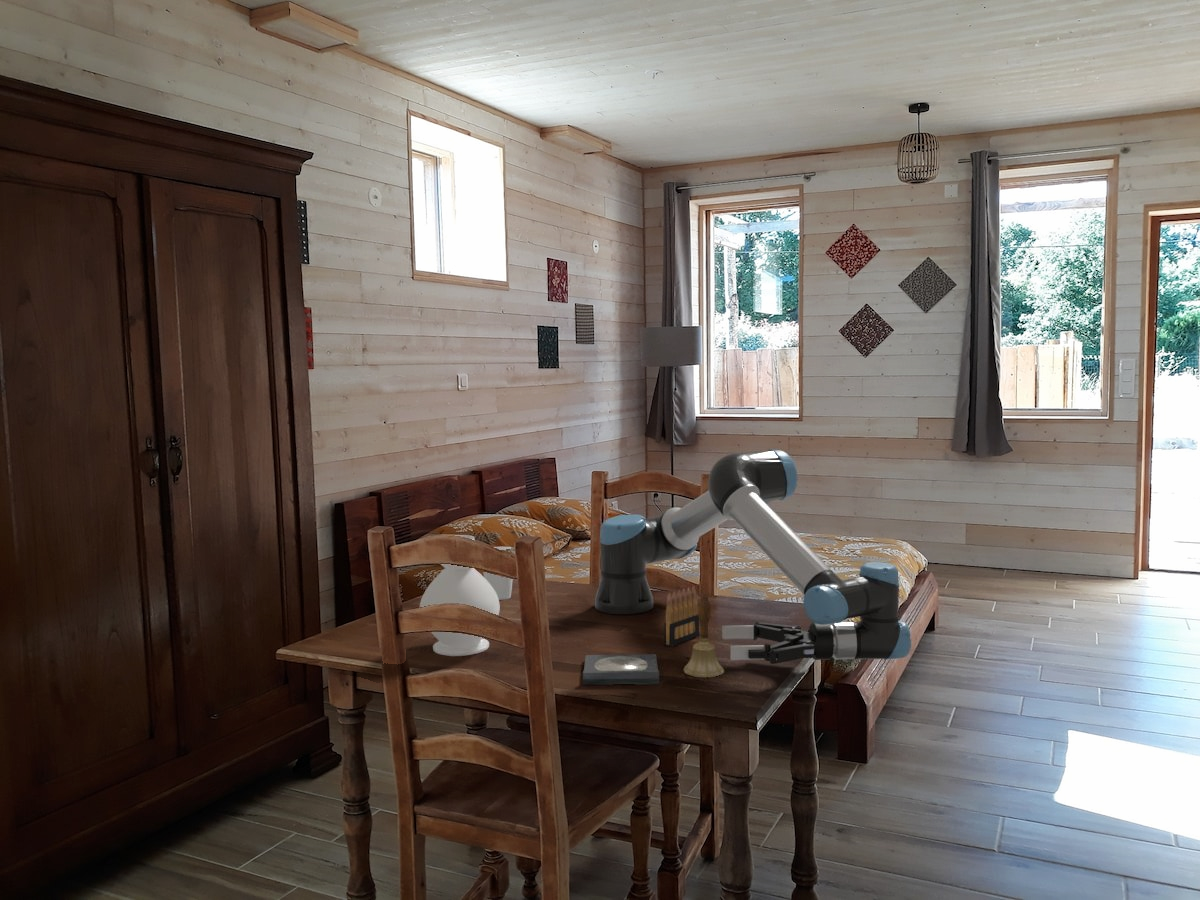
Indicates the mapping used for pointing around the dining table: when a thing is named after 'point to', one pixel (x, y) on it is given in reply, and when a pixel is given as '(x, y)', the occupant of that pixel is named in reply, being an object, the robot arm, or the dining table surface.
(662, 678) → the dining table surface
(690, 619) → the ammunition clip
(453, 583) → the decorative vase
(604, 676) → the plate
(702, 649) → the hand bell
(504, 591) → the foam cup
